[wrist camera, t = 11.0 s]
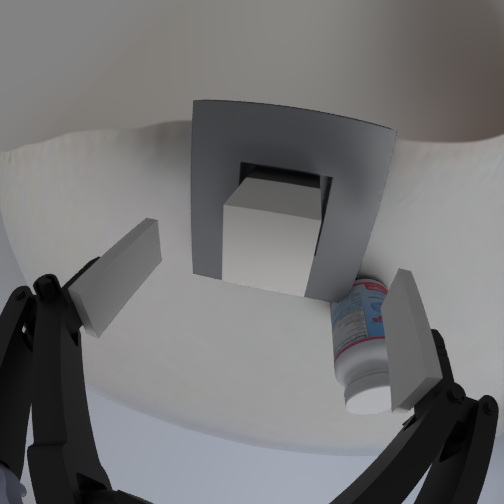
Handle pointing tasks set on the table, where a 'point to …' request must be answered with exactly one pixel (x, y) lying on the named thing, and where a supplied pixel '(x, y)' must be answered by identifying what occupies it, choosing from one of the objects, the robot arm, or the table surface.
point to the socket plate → (293, 160)
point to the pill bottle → (362, 348)
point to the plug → (272, 231)
